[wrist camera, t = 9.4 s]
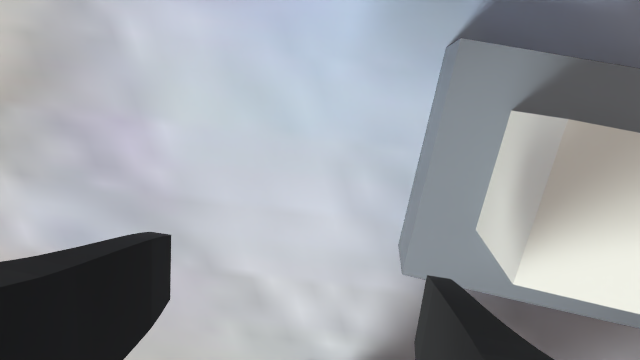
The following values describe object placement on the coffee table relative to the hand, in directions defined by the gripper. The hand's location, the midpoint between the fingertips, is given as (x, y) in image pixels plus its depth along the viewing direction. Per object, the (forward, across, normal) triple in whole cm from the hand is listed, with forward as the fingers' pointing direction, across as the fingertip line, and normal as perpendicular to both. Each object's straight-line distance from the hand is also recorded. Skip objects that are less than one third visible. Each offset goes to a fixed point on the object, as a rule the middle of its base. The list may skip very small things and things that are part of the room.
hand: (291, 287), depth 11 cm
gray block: (+11, -9, -2) cm, 14 cm away
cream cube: (+7, -9, -2) cm, 12 cm away
